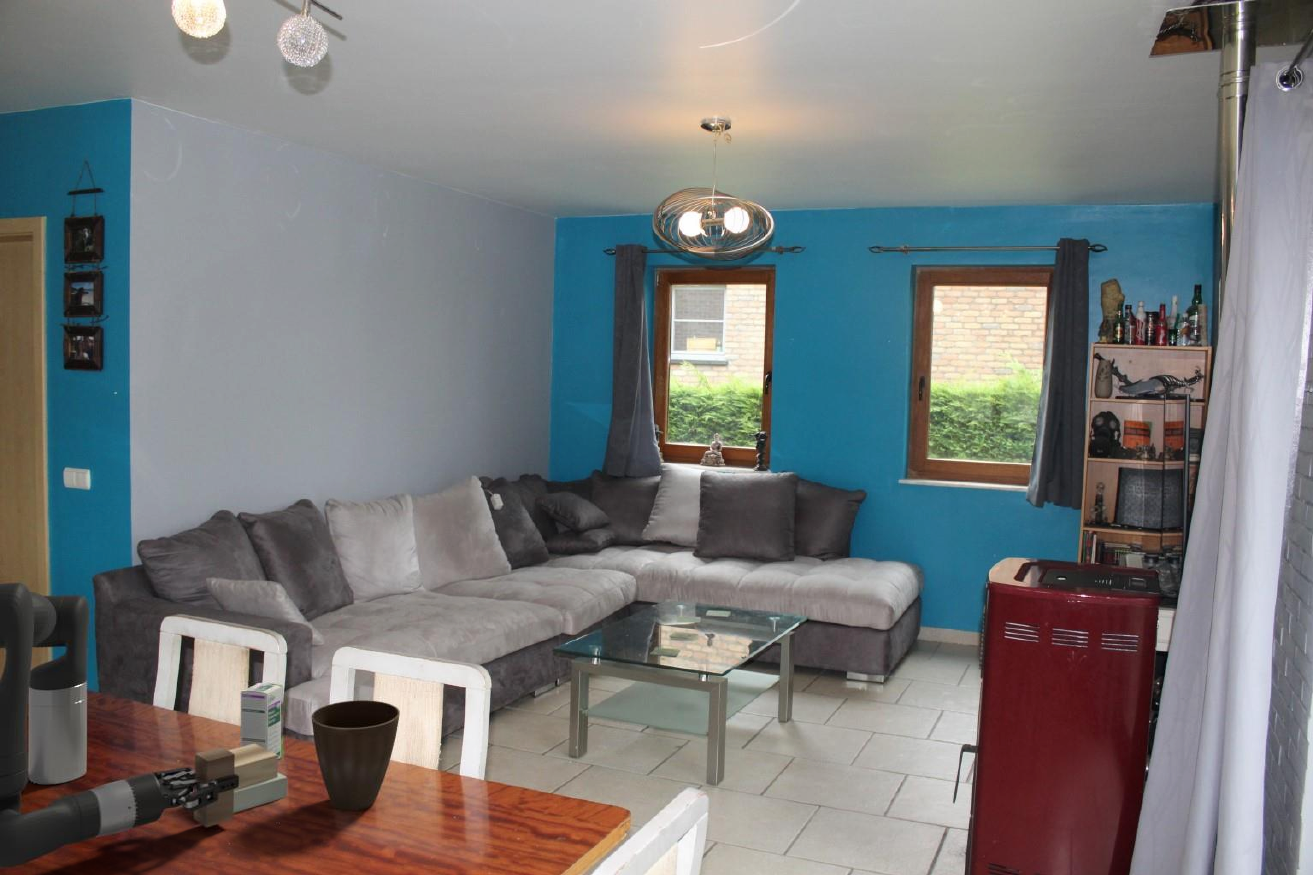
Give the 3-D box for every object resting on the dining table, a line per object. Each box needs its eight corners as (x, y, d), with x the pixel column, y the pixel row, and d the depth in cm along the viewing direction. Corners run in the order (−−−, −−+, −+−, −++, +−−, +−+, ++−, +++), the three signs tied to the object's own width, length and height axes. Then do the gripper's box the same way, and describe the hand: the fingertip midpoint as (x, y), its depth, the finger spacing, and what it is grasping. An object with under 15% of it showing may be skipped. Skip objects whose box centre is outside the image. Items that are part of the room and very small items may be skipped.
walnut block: (193, 818, 171) (195, 753, 170) (220, 810, 174) (221, 746, 173) (206, 827, 168) (207, 760, 167) (233, 819, 171) (234, 754, 170)
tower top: (211, 776, 183) (211, 754, 182) (254, 764, 189) (254, 743, 188) (234, 789, 177) (234, 766, 177) (277, 776, 184) (277, 754, 183)
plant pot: (415, 795, 186) (417, 708, 185) (358, 827, 173) (360, 733, 172) (350, 779, 192) (352, 695, 191) (291, 808, 179) (292, 718, 178)
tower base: (205, 798, 183) (205, 776, 183) (258, 783, 190) (258, 761, 190) (232, 815, 176) (232, 792, 176) (286, 799, 184) (287, 777, 184)
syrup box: (267, 767, 197) (268, 692, 196) (239, 764, 198) (240, 689, 197) (283, 757, 202) (284, 684, 201) (256, 753, 203) (257, 681, 203)
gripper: (143, 795, 155) (252, 765, 168) (105, 768, 164) (211, 742, 177) (142, 843, 155) (251, 810, 168) (104, 814, 165) (210, 784, 177)
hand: (229, 775), depth 172 cm, fingers closed on walnut block, 4 cm apart
